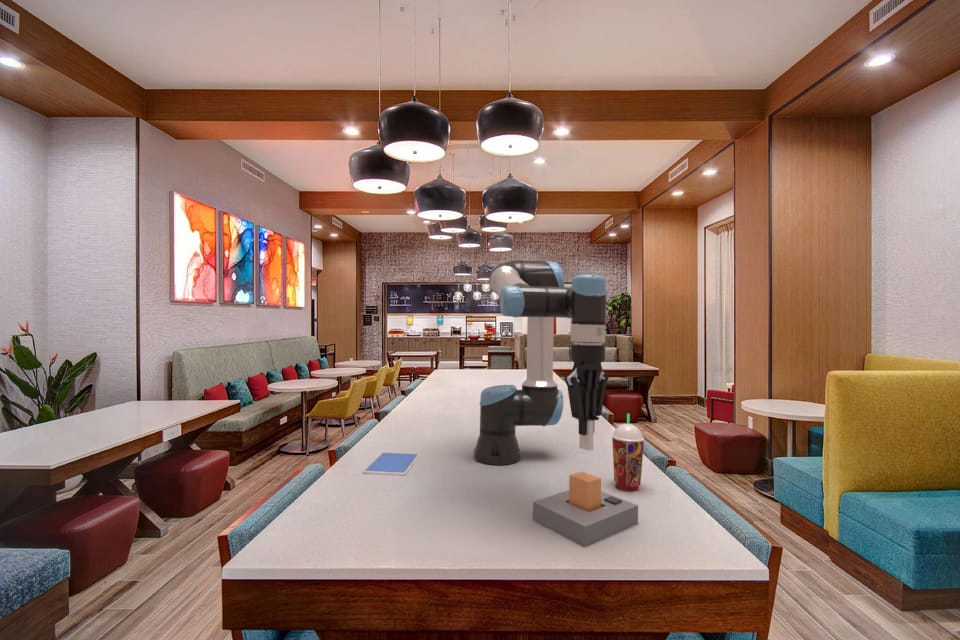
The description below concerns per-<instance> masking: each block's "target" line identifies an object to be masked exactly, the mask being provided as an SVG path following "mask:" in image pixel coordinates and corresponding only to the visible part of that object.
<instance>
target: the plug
mask: <svg viewBox="0 0 960 640" xmlns="http://www.w3.org/2000/svg"><path fill="white" fill-rule="evenodd" d="M568 479H569V480H568V483H569V484H568V485H569V486H568V487H569V489H568V490H569V504H572V505H574V506H576V507H578V508H581V509H583V510H585V511H587V512H591V511H594V510H596V509H599V508H601V491H602V477H599V476H596V475H593V474H591V473H588V472H584V471H580V472H579V471H578V472H575V473H572V474H569V478H568Z"/></svg>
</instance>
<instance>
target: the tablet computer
mask: <svg viewBox="0 0 960 640" xmlns="http://www.w3.org/2000/svg"><path fill="white" fill-rule="evenodd" d="M419 457H420V455H419V454H417V453H403V452H402V453H401V452H399V453H398V452H397V453H395V452H381V454H380V455H378V456H377V457H376V458H375V460H374V461H372V462H371V464H369V465H368V466H367V467H366V468H365V469H364V470H363V474H364V475H378V476H379V475H381V476H400V477H401V476H405V475H406V474H407V473H408V471H410V469H411V467H413V465H414V464H415V462H416V461H417V460H418V458H419Z"/></svg>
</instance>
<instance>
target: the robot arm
mask: <svg viewBox="0 0 960 640" xmlns="http://www.w3.org/2000/svg"><path fill="white" fill-rule="evenodd" d="M561 267H562V266H561V265H560V264H559V263H558V262H555V261H548V260H517V259H516V260H509V261H504V262H502V263H500V264H498V265H497V266H495V267H494V268H493V269H492V270H491V272H490V274H489V277H488V284H489V287H490V289H491V290H492V292H493V293H495V294H496V295H497V296H499V309H500V313H501V315H502V316H504V317H513V318H527V324H526V328H527V329H526V331H527V332H526V379H525V380H524V381H523V382H522V384H521V389H517V386H516V385H515V384H501V385H500V384H499V385H493V386H489V387H485V388H484V389H482V391H481V392H480V398H479V399H480V401H479V406H480V408H479V409H480V410H479V411H480V413H479V435H478V438H477V441H476V446H475V448H474V451H473V458H474V460H475V461H477V462H478V463H482V464H486V465H493V466H503V465H504V466H505V465H512V464H515V463H518V462H519V461H521V450H520V447H519V442H518V440H517V436H516V435H517V434H516V428H517V427H522V426H523V427H528V426H531V427H535V426H542V427H546V426H547V427H548V426H556V425H557V424H558V423H559V422H560V420H561V418H562V415H563V411H564V395H563V391H562V390H561V389H559V388H558V383H556V382H555V381H554V318H561V319H562V318H563V319H564V318H565V319H571V322H570V324H571V325H570V342H571V343H572V344H571V345H570V361H572V362H573V366H572V369H571V371H572V372H571V373H570V374H569V375H565V376H564V378H563V379H564V381H565V384H566V386H567V393H568V400H569V406H570V407H569V408H570V414H571V417H572V418H574V419H576V420H578V435H579V440H578V441H579V446H578V447H579V449H582V450H585V451H594V433H595V421H599V419H600V417H601V416H602V413H603V412H602V411H603V408H604V407H603V406H604V400H605V395H606V387H607V384H608V380H609V378H610V374H609V373H605V372H604V371H603V366H602V363H603V362H605V359H606V347H605V345H603V344H604V343H605V342H606V314H607V313H606V312H607V309H606V308H607V293H608V292H607V291H608V290H607V282H606V281H607V280H606V278H605V276H603V275H600V274H579V275H574V276H573V277H572V279H571V280H572V281H571V286H565V277H564V273H563V272H564V271H563V269H562V268H561Z"/></svg>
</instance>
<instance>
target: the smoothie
mask: <svg viewBox="0 0 960 640" xmlns="http://www.w3.org/2000/svg"><path fill="white" fill-rule="evenodd" d="M630 415H631V414H630V413H626V423H622V424H620V425H618V426H617V427H616V428H615V429H614V432H613V434H611V438H612V459H613V463H612V464H613V479H614V483H615V485H616V488H618V489H620V490H623V491H627V492H628V491H629V492H631V491H633V492H634V491H637V490H639V486H641V480H642V470H643V468H642V467H643V458H644V457H643V456H644V446H645V445H644V444H645V438H644V436H643V434H642V432H641V430H640V429H639V428H638V427H637V426H636V425H634V424H632V423H630V421H631V419H630V418H631V417H630Z"/></svg>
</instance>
